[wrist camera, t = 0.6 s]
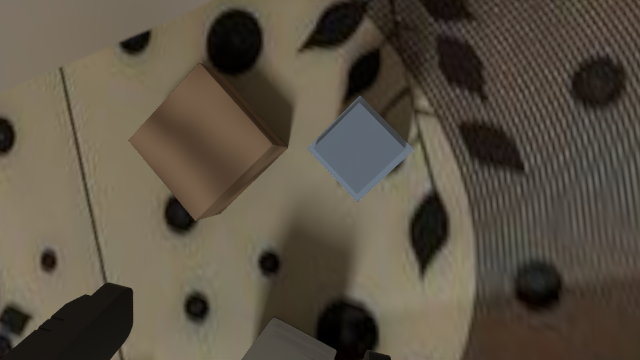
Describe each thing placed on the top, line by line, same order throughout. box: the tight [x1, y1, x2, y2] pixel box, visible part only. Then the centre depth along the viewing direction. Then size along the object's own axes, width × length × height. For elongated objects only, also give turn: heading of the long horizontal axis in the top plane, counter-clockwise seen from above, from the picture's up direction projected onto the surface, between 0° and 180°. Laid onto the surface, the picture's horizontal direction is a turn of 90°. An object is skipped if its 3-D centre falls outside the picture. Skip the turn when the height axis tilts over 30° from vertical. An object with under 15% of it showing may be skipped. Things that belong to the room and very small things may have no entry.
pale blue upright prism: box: [307, 96, 414, 202], centre depth 27 cm, size 5×5×11 cm
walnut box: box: [128, 63, 288, 221], centre depth 33 cm, size 10×10×5 cm
